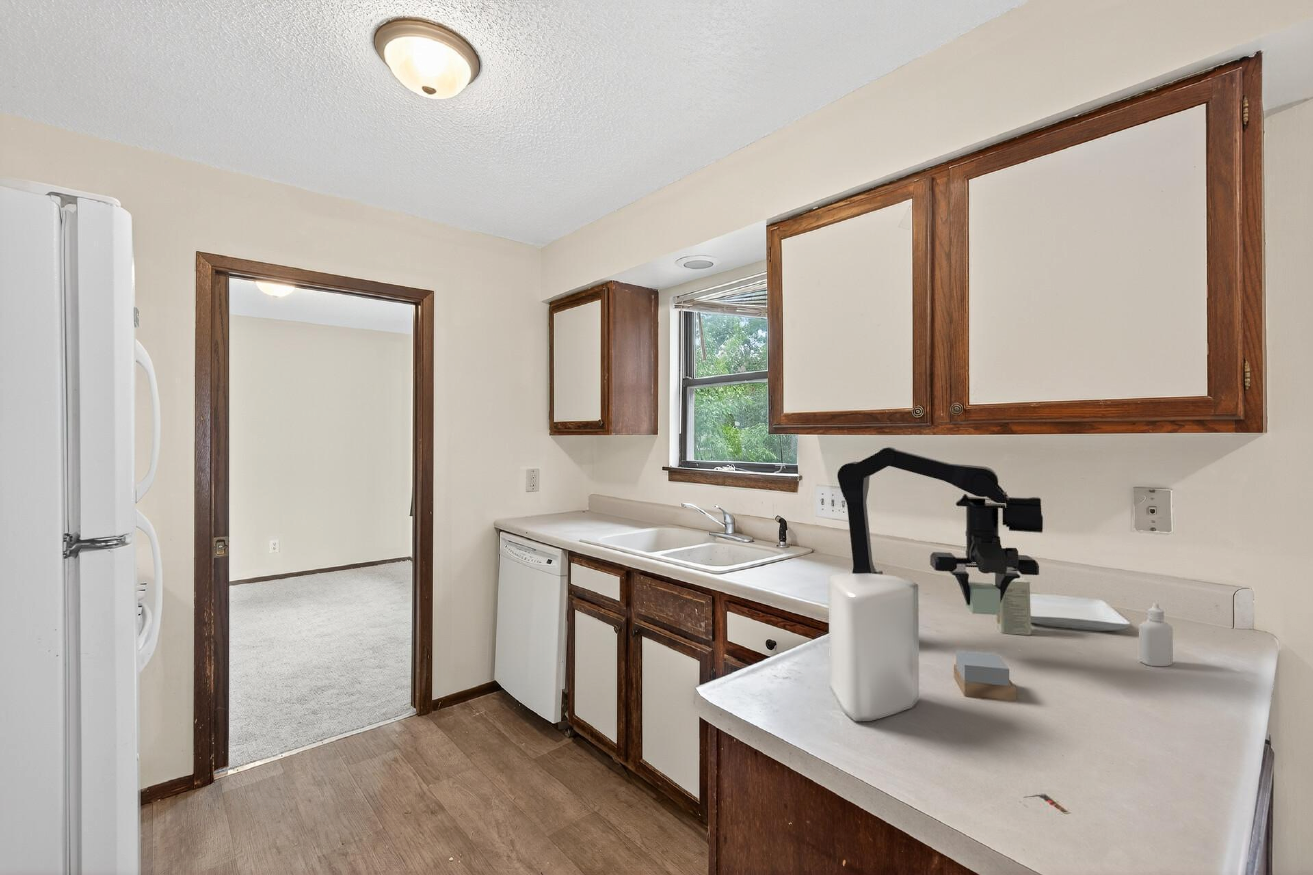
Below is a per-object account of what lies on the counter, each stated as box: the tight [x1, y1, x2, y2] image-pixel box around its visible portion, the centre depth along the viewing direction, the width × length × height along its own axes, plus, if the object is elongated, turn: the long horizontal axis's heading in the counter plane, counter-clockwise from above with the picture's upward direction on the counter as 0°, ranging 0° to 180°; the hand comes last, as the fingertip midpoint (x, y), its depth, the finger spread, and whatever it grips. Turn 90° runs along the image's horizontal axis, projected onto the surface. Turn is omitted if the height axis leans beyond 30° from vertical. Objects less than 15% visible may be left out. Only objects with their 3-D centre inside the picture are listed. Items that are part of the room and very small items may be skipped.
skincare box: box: [996, 577, 1032, 636], centre depth 135 cm, size 6×4×12 cm
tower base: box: [953, 664, 1016, 702], centre depth 106 cm, size 8×8×3 cm
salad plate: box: [1030, 593, 1131, 632], centre depth 144 cm, size 21×21×3 cm
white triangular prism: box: [828, 572, 920, 722], centre depth 102 cm, size 15×14×22 cm
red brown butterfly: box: [1019, 793, 1071, 815], centre depth 73 cm, size 5×5×1 cm
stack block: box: [965, 581, 1000, 616], centre depth 119 cm, size 5×5×5 cm
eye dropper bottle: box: [1138, 602, 1174, 667], centre depth 116 cm, size 4×6×12 cm
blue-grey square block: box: [955, 649, 1010, 686], centre depth 106 cm, size 7×7×3 cm
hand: (982, 605), depth 119 cm, fingers closed on stack block, 5 cm apart
